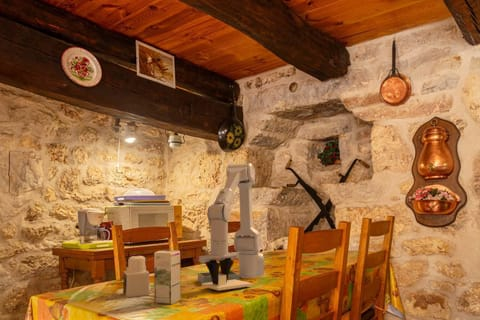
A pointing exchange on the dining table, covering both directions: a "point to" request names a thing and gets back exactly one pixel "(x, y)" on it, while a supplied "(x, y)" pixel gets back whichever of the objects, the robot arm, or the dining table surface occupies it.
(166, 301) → the syrup box
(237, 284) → the lid
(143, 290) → the medicine bottle
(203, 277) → the tub
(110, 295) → the dining table surface
